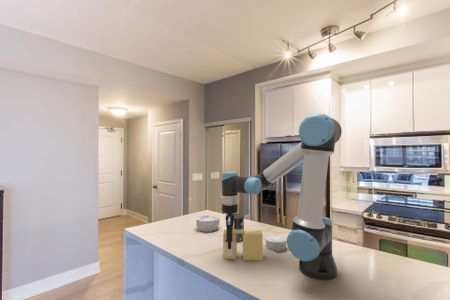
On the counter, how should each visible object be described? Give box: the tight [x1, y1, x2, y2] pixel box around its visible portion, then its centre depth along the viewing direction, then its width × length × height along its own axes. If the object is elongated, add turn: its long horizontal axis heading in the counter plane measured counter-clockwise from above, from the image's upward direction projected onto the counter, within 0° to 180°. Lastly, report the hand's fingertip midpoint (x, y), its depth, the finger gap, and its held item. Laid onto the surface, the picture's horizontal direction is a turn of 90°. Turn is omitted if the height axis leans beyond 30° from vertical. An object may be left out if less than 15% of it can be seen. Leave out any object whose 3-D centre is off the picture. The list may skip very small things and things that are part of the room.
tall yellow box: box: [242, 229, 264, 261], centre depth 110 cm, size 9×6×12 cm, turn 86°
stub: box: [222, 228, 238, 260], centre depth 111 cm, size 6×6×12 cm
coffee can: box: [225, 213, 245, 244], centre depth 133 cm, size 10×10×14 cm
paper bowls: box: [195, 214, 220, 233], centre depth 153 cm, size 15×15×8 cm
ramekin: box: [264, 234, 287, 253], centre depth 123 cm, size 11×11×5 cm
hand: (229, 252), depth 111 cm, fingers closed on stub, 5 cm apart
